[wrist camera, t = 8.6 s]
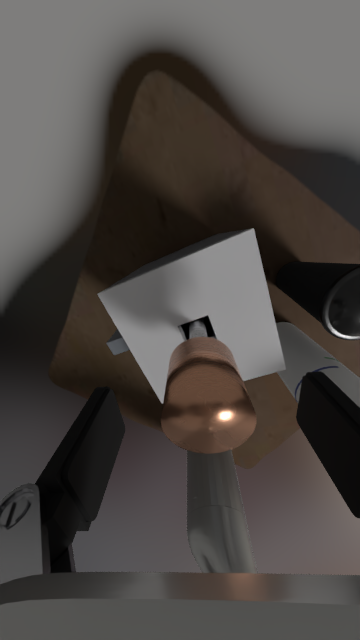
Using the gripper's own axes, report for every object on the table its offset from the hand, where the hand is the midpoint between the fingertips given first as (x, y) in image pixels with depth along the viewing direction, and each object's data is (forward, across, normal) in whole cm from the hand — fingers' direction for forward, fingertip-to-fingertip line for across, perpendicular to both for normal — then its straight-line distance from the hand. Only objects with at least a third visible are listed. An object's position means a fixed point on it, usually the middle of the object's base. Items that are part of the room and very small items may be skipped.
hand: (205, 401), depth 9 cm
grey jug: (+24, +2, 0) cm, 24 cm away
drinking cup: (+24, -16, 0) cm, 29 cm away
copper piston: (+22, 0, -1) cm, 22 cm away
